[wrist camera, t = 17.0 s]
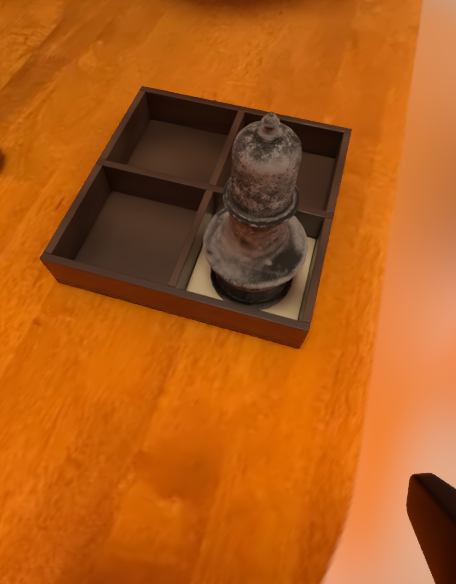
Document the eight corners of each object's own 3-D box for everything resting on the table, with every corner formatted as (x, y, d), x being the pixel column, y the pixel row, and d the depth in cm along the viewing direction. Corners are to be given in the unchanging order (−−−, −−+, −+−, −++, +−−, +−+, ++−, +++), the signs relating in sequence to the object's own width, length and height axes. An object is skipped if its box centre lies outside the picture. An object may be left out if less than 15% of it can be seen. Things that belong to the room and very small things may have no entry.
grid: (299, 349, 24) (308, 331, 21) (57, 282, 25) (38, 258, 23) (341, 159, 30) (351, 128, 28) (148, 118, 32) (141, 85, 30)
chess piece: (213, 229, 27) (206, 54, 16) (300, 241, 26) (353, 69, 16) (197, 307, 24) (176, 161, 13) (293, 321, 24) (351, 183, 13)
